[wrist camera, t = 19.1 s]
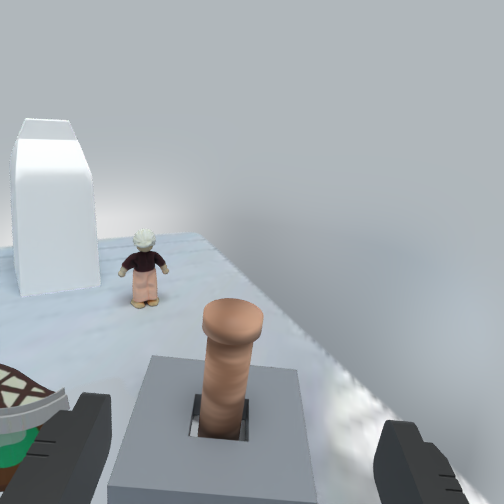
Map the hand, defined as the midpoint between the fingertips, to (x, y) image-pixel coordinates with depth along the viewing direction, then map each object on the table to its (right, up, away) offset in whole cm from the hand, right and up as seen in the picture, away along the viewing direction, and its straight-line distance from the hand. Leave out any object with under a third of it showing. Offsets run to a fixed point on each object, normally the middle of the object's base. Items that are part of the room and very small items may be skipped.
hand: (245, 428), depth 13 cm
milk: (-33, +1, +62) cm, 70 cm away
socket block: (-4, -15, +34) cm, 37 cm away
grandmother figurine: (-18, -3, +57) cm, 60 cm away
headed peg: (-3, -15, +34) cm, 37 cm away
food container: (-23, -15, +27) cm, 39 cm away
